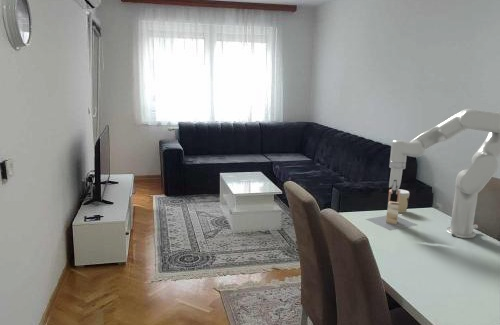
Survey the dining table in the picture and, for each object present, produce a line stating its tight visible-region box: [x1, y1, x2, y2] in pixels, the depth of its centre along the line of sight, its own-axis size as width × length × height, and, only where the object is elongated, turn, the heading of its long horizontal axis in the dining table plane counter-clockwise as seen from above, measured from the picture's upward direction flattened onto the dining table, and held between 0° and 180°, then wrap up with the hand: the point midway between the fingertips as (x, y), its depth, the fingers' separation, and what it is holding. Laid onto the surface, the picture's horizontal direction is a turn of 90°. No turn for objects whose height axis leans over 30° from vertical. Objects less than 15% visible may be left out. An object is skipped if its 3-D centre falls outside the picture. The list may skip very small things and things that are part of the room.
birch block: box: [386, 201, 399, 215], centre depth 201 cm, size 5×5×5 cm
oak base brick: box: [386, 212, 399, 224], centre depth 202 cm, size 5×5×5 cm
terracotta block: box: [387, 188, 400, 203], centre depth 200 cm, size 5×5×5 cm
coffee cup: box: [398, 188, 411, 214], centre depth 221 cm, size 9×9×12 cm
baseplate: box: [365, 215, 418, 231], centre depth 203 cm, size 19×17×1 cm
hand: (393, 199), depth 200 cm, fingers closed on terracotta block, 4 cm apart
